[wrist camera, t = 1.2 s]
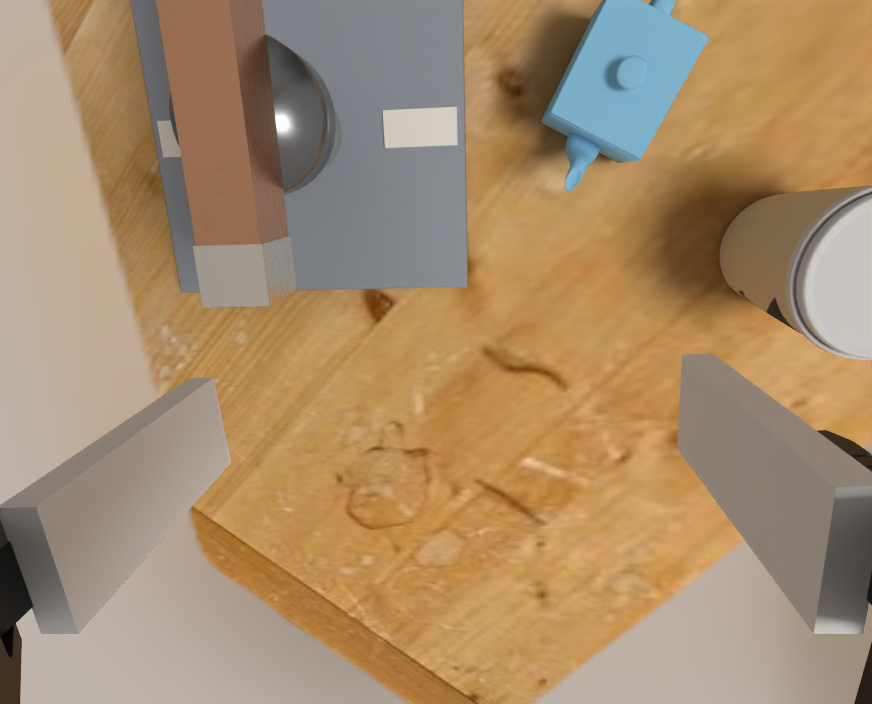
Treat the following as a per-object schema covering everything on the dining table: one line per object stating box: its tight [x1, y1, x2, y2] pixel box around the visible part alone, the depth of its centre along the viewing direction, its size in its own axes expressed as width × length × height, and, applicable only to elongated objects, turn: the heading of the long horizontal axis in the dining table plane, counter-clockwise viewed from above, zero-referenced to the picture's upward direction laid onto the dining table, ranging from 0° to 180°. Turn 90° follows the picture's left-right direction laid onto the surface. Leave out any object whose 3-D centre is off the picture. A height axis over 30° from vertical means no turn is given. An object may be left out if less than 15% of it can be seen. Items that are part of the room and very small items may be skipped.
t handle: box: [156, 0, 336, 307], centre depth 28 cm, size 18×8×7 cm, turn 2°
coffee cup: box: [719, 186, 872, 360], centre depth 33 cm, size 9×9×12 cm
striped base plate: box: [131, 0, 468, 292], centre depth 35 cm, size 22×22×8 cm
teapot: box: [540, 0, 709, 191], centre depth 34 cm, size 12×6×8 cm, turn 155°
